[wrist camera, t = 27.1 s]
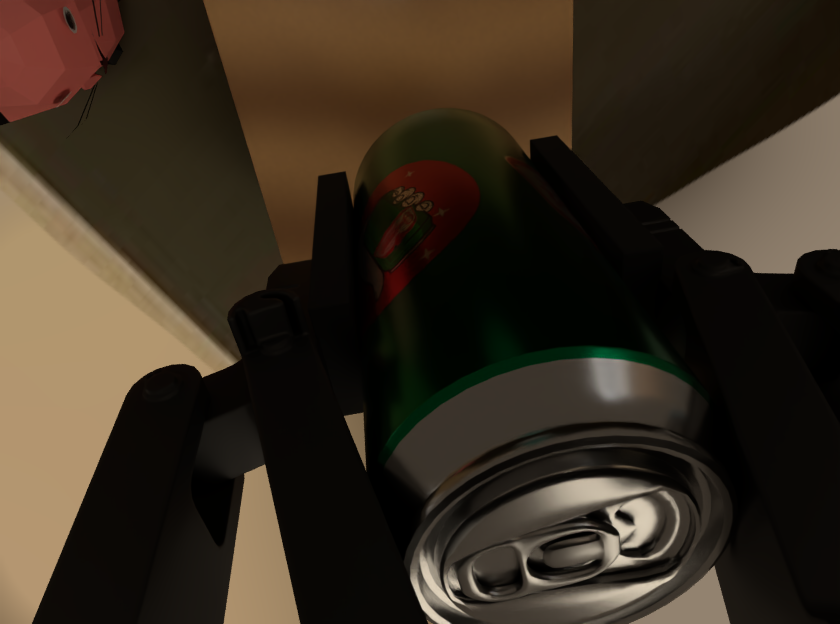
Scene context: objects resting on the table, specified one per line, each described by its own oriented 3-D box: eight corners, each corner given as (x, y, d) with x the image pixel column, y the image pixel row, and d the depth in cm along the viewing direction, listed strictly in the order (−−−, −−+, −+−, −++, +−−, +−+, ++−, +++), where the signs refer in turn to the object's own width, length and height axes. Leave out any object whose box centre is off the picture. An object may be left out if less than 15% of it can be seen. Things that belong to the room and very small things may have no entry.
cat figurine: (146, 99, 32) (61, 183, 23) (4, 53, 30) (-158, 122, 21) (166, -42, 29) (76, -15, 19) (7, -104, 27) (-184, -112, 17)
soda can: (534, 242, 19) (752, 615, 9) (379, 283, 19) (422, 691, 9) (512, 79, 16) (798, 359, 6) (329, 128, 16) (312, 480, 6)
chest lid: (170, -121, 20) (165, -122, 20) (568, -185, 21) (575, -188, 20) (294, 289, 30) (293, 297, 29) (566, 242, 30) (570, 249, 29)
